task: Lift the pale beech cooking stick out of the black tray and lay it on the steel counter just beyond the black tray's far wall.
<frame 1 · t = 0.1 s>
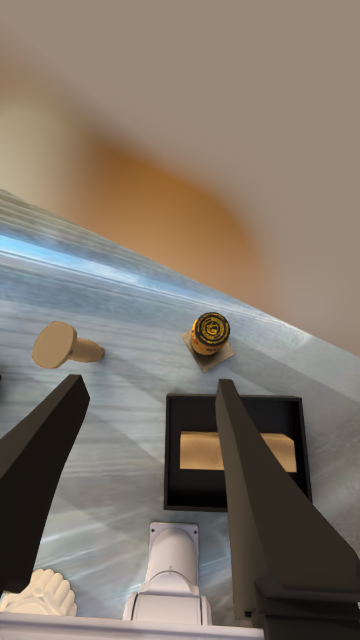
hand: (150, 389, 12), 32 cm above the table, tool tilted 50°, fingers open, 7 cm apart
black tray: (231, 445, 40), on the table
condiment: (207, 344, 44), on the table
mooncake: (41, 612, 36), on the table
stick: (231, 445, 40), resting on black tray
handle: (97, 353, 45), on the table
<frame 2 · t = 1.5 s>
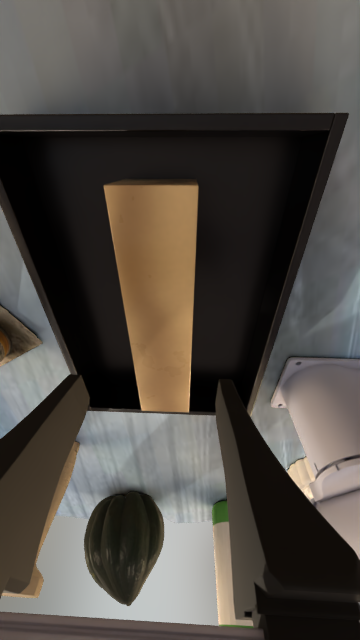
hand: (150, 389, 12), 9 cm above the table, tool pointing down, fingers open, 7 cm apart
black tray: (166, 301, 19), on the table
wine bottle: (229, 504, 49), on the table
mooncake: (324, 466, 37), on the table
squash: (132, 496, 48), on the table
stick: (166, 303, 19), resting on black tray
handle: (70, 441, 35), on the table
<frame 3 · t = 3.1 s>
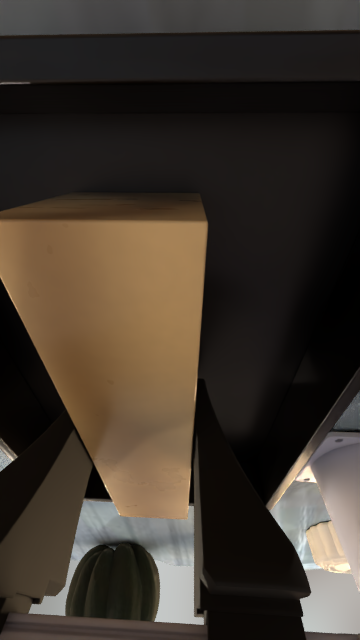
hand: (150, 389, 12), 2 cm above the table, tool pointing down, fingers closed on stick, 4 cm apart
black tray: (154, 366, 13), on the table
mooncake: (351, 528, 31), on the table
squash: (123, 544, 42), on the table
stick: (153, 371, 13), resting on black tray, touching gripper
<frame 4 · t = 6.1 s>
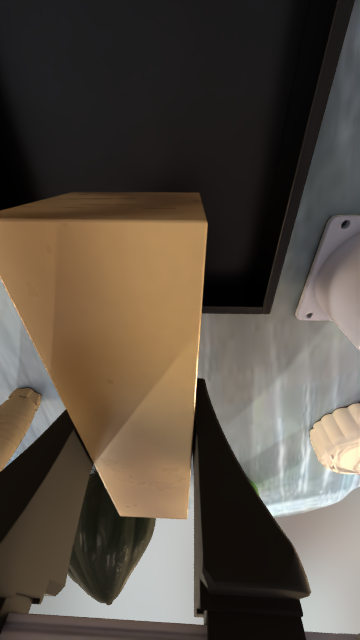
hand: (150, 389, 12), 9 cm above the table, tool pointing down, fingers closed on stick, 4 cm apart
black tray: (131, 86, 11), on the table
mooncake: (357, 426, 29), on the table
squash: (118, 473, 40), on the table
stick: (153, 371, 13), point 7 cm above the table, touching gripper
handle: (30, 393, 27), on the table
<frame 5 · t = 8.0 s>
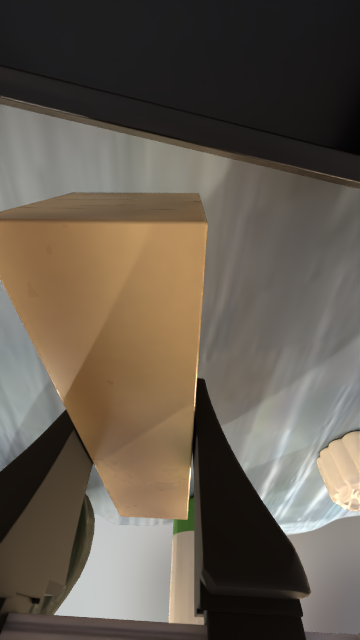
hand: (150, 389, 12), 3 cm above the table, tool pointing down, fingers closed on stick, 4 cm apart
wine bottle: (201, 502, 32), on the table
squash: (50, 479, 30), on the table
stick: (153, 371, 13), point 2 cm above the table, touching gripper
when the fingers open (1 cm above the table, at t = 9.2 s): stick stays where it is, on the table.
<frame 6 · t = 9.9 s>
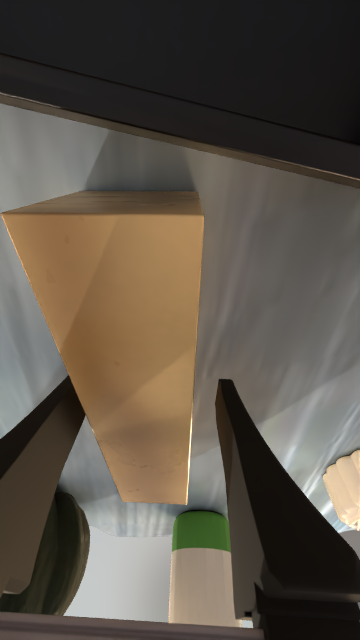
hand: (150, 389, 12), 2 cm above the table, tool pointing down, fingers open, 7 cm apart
wine bottle: (201, 515, 31), on the table
squash: (43, 493, 28), on the table
stick: (154, 362, 14), on the table
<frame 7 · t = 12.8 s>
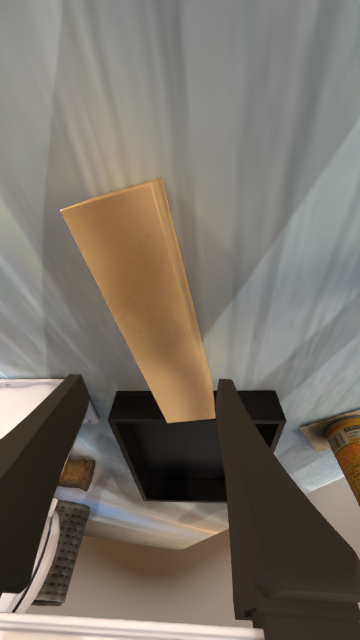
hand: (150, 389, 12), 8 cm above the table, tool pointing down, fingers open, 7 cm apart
black tray: (196, 443, 31), on the table
condiment: (341, 427, 28), on the table
storage bin: (25, 506, 51), on the table
stick: (167, 310, 18), on the table
hand tool: (36, 453, 35), on the table
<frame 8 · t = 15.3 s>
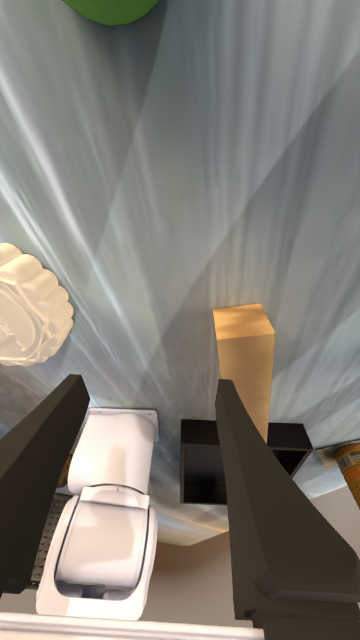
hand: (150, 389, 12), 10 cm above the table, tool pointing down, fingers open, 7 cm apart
black tray: (230, 458, 39), on the table
condiment: (346, 450, 36), on the table
mooncake: (12, 299, 22), on the table
storage bin: (60, 504, 57), on the table
stick: (239, 371, 26), on the table
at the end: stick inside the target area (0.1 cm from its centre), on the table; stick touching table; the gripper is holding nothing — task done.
